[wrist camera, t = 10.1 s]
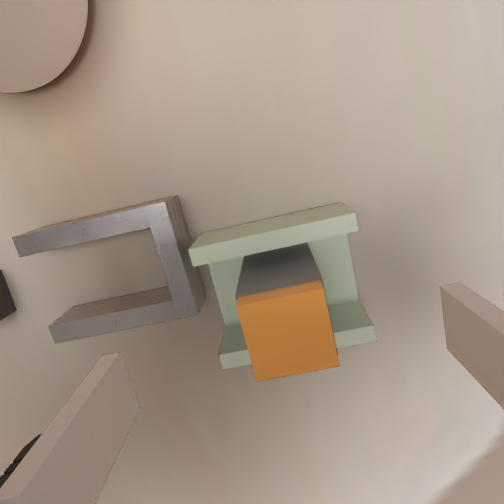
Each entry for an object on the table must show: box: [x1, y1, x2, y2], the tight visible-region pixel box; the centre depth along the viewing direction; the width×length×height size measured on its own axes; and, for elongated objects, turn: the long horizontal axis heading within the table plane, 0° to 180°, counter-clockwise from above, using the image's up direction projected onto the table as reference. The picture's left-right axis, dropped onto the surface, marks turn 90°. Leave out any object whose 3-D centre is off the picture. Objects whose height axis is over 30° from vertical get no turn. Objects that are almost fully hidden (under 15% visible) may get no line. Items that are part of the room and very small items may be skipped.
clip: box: [12, 195, 206, 344], centre depth 23 cm, size 9×7×3 cm
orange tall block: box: [235, 242, 340, 382], centre depth 20 cm, size 4×4×8 cm
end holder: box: [188, 202, 377, 370], centre depth 22 cm, size 9×8×4 cm
